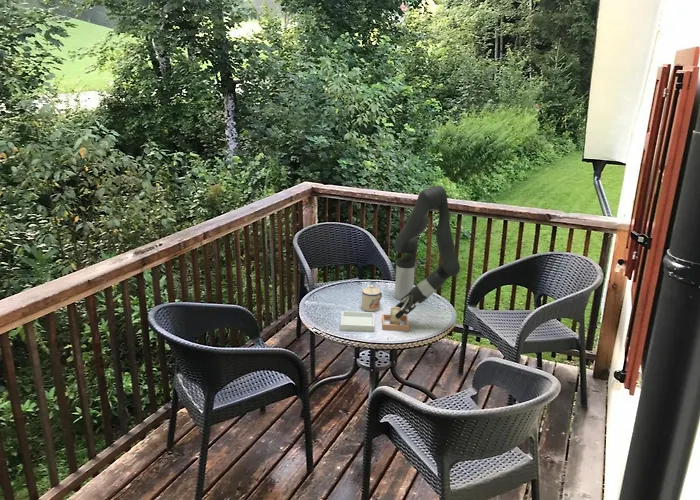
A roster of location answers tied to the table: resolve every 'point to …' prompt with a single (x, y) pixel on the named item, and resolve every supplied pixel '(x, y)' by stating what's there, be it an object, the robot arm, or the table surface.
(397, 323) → the birch cylinder
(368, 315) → the pale green tray
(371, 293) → the teacup with lid
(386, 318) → the orange brown tray
